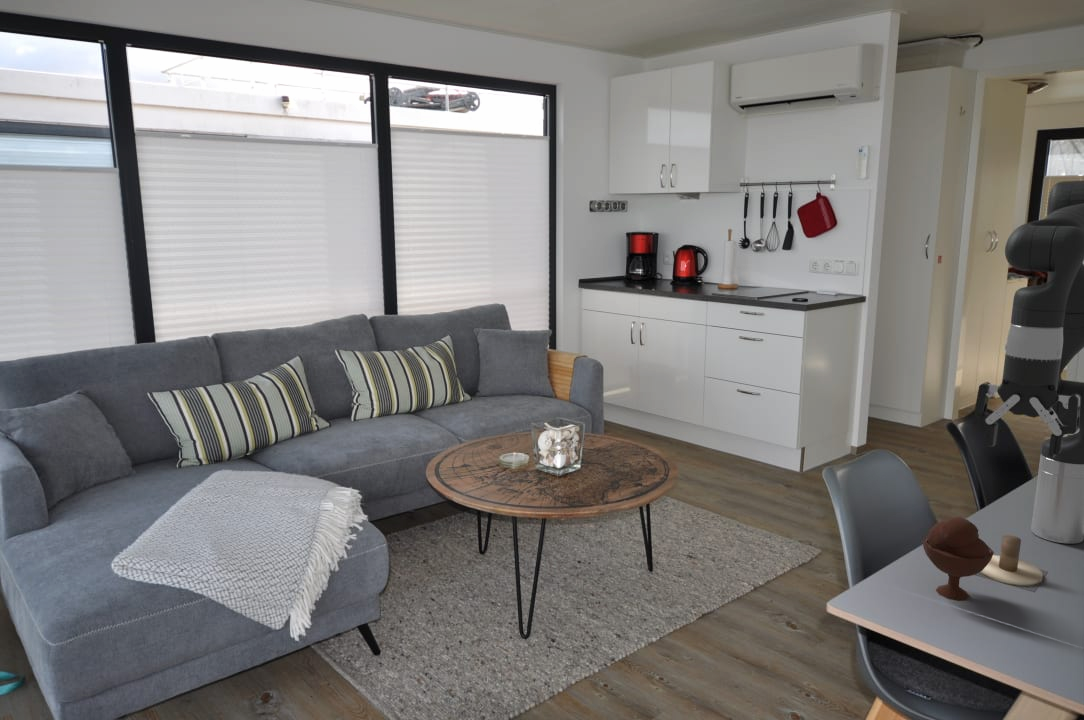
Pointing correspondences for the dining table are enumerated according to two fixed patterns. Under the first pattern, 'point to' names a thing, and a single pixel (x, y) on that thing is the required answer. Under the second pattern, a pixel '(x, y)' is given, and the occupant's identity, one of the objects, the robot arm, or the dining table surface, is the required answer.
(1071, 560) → the dining table surface
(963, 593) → the ice cream bowl
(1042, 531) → the robot arm
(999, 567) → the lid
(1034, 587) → the mat
